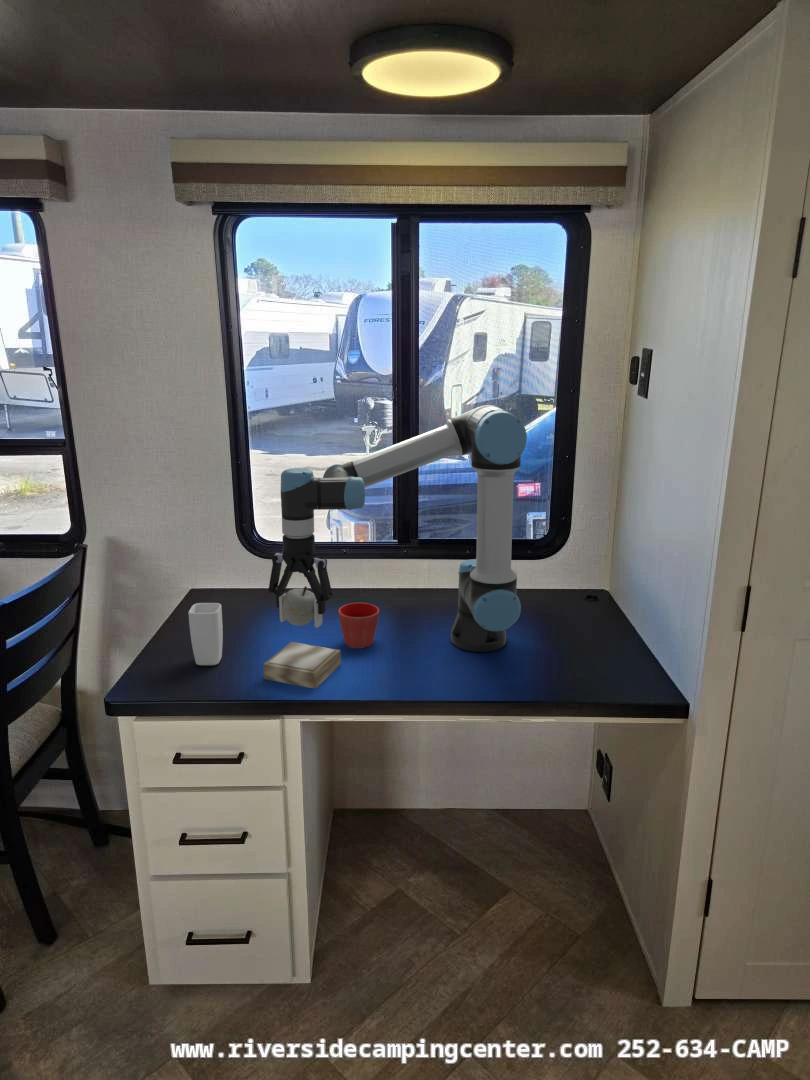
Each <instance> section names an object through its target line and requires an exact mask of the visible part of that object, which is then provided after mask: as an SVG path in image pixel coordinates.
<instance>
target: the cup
mask: <svg viewBox="0 0 810 1080" xmlns="http://www.w3.org/2000/svg"><path fill="white" fill-rule="evenodd" d="M187 614H188V625H189V633H190V641H191V646H192V647H191V648H192V653H193V657H194V661H195V664H196V665H197V666H200V667H210V666H211V667H214V666H216V665H218V664H219V663H220V661H221V659H222V657H223V642H224V640H223V639H224V638H223V637H224V636H223V635H224V634H223V633H224V631H223V628H224V627H223V610H222V604H221V603H219V602H196V603H194V604H193V605H191V607H190V609H189V610H188V613H187Z"/></svg>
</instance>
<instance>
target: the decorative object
mask: <svg viewBox="0 0 810 1080" xmlns="http://www.w3.org/2000/svg"><path fill="white" fill-rule="evenodd" d="M285 593H286V595H285V597H284V602H283V606H282V610H283V614H284V616H285V618H286V620H285V621H287V622H288V623H290V624H291V625H293V626H305V625H307V624H309V623H310V622H311V621H313V620H314V602H315V601H316V597H315V595H314V593H313V591H310V590H308V586H307V585H305V586H304V587H303V588H293V589H290V590H288V591H287V592H285Z"/></svg>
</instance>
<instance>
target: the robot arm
mask: <svg viewBox="0 0 810 1080" xmlns="http://www.w3.org/2000/svg"><path fill="white" fill-rule="evenodd" d="M527 435H528V434H527V430H526V427H525V426H524V423H523V422H522V421H521V419H520V418H519V417H518V416H517V415H516V414H514V413H512V412H511V411H509V410H506V409H503V408H501V407H498V406H496V405H490V404H485V405H480V406H478V407H475V408H472V409H471V410H468V411H466V412H464V413H461V414H459V415H456V416H453V417H452V418H449V419H447V420H446V423H445V425H442V426H439V427H437V428H435V429H432V430H429V431H426V432H424V433H422V434H419V435H416V436H413V437H410V438H409V439H405V440H403V441H400V442H398V443H395V444H392V445H390V446H387V447H385V448H382V449H379V450H377V451H374V452H371V453H369V454H366V455H363V456H361V457H358V458H355V459H353V460H351V461H348V462H346V463H342V464H337V463H336V464H332V465H330V466H329V467H328V468H327V469H326V470H325V472H324V474H323V476H322V477H315V475H314V472H313V470H312V469H310V468H305V467H304V468H302V467H293V468H292V467H291V468H287V469H285V470H283V471H282V472H281V474H280V503H281V504H280V505H281V532H282V534H283V535H282V549H283V553H281V552H276V553H274V554H272V555H271V561H272V566H271V567H272V568H271V572H270V576H269V577H270V579H269V585H268V592H269V593H272V594H274V595H275V599H276V600H275V603H276V607H277V608H279V622H281V623H283V622H285V621H287V620H286V618H285V616H284V614H283V610H282V606H283V602H284V597H285V595H286V593H287V592H286V589H287V587H288V584H289V583H290V580H291V578H292V576H293V573H299V574H303V576H304V578H306V580H307V582H308V584H309V587H310V589H311V590H312V591H311V592H312V593H314V595H315V597H316V601H315V602H314V618H313V620H314V628H317V629H318V628H319V627H320V626H322V625H323V615H324V614H325V613H326V602H328V601H329V600H330V599H331V598H333V592H332V587H331V581H330V578H329V573H328V569H327V565H328V559H327V558H322V559H321V558H319V557H317V556H316V554H315V550H316V549H315V548H316V547H315V546H316V545H315V534H314V533H315V511H316V510H318V511H319V510H320V511H322V510H325V511H326V510H327V511H328V510H339V511H340V510H348V511H351V510H361V509H362V508H364V507H365V503H366V490H365V489H366V488H369V487H371V486H374V485H376V484H379V483H381V482H384V481H386V480H389V479H392V478H395V477H398V476H400V475H402V474H405V473H408V472H410V471H413V470H416V469H418V468H421V467H423V466H426V465H429V464H431V463H434V462H437V461H439V460H442V459H445V458H447V457H450V456H453V455H455V454H456V455H458V456H463V455H466V454H470V453H471V455H470V456H471V458H470V459H471V460H470V461H471V463H470V464H471V466H470V467H471V468H472V469H473V470H474V471H475V472H476V473H477V488H476V489H477V492H476V493H477V495H476V496H477V497H476V501H477V502H476V552H475V553H476V555H475V558H473V559H472V558H471V559H466V560H464V561H461V562H460V564H459V570H458V593H457V594H458V596H457V600H458V601H457V603H458V604H457V606H458V607H457V614H456V617H455V620H454V622H453V625H452V629H451V631H450V641H451V644H453V645H454V647H457V648H458V649H461V650H465V651H468V652H476V653H487V652H488V653H489V652H494V651H497V650H500V649H502V648H503V647H504V646H505V645H506V643H507V633H506V630H508V629H509V628H511V626H513V625H514V624H516V622H517V621H518V619H519V617H520V615H521V611H522V605H521V604H522V603H521V600H520V598H519V596H518V595H517V590H518V589H517V586H518V583H517V582H518V574H517V573H516V572H515V571H514V570H513V569H512V551H513V549H512V547H513V546H512V542H513V541H512V540H513V517H514V515H513V512H514V511H513V510H514V509H513V507H514V480H515V479H514V478H515V477H514V475H515V473H516V472H517V471H519V469H520V468H521V464H522V463H521V461H522V460H521V459H522V454H523V452H524V451H525V449H526V446H527V440H528V436H527ZM283 561H284V563H285V564H286V566H285V569H283V574H282V576H281V572H282V565H283ZM314 564H315V567H316V568H317V574H316V569H315V568H314ZM317 575H318V576H317ZM280 576H281V579H280Z"/></svg>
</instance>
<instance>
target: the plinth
mask: <svg viewBox="0 0 810 1080" xmlns="http://www.w3.org/2000/svg"><path fill="white" fill-rule="evenodd" d="M341 661H342V660H341V649H336V648H330V647H323V646H318V645H313V644H307V643H300V642H297V641H290V642H289V643H288V644H286V645H285V646H284V647H283V648H282V649H281V650H280V651H278V652H277V653H275V654H274V655H273V656H272V657H270V658H269V659H268V660H267V661H265V662H264V663H263V678H264V679H263V680H268V681H272V682H279V683H284V684H288V685H294V686H299V687H304V688H309V689H314V690H315V689H317V688H318V687H319V686H320V685H321V684H322V683H323V682H324V681H325V680H326V679H327V678H329V677H330V675H332V674H333V672H334V671H335V670H337V669H338V668H339V667H340V666H341V665H342V663H341Z"/></svg>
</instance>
